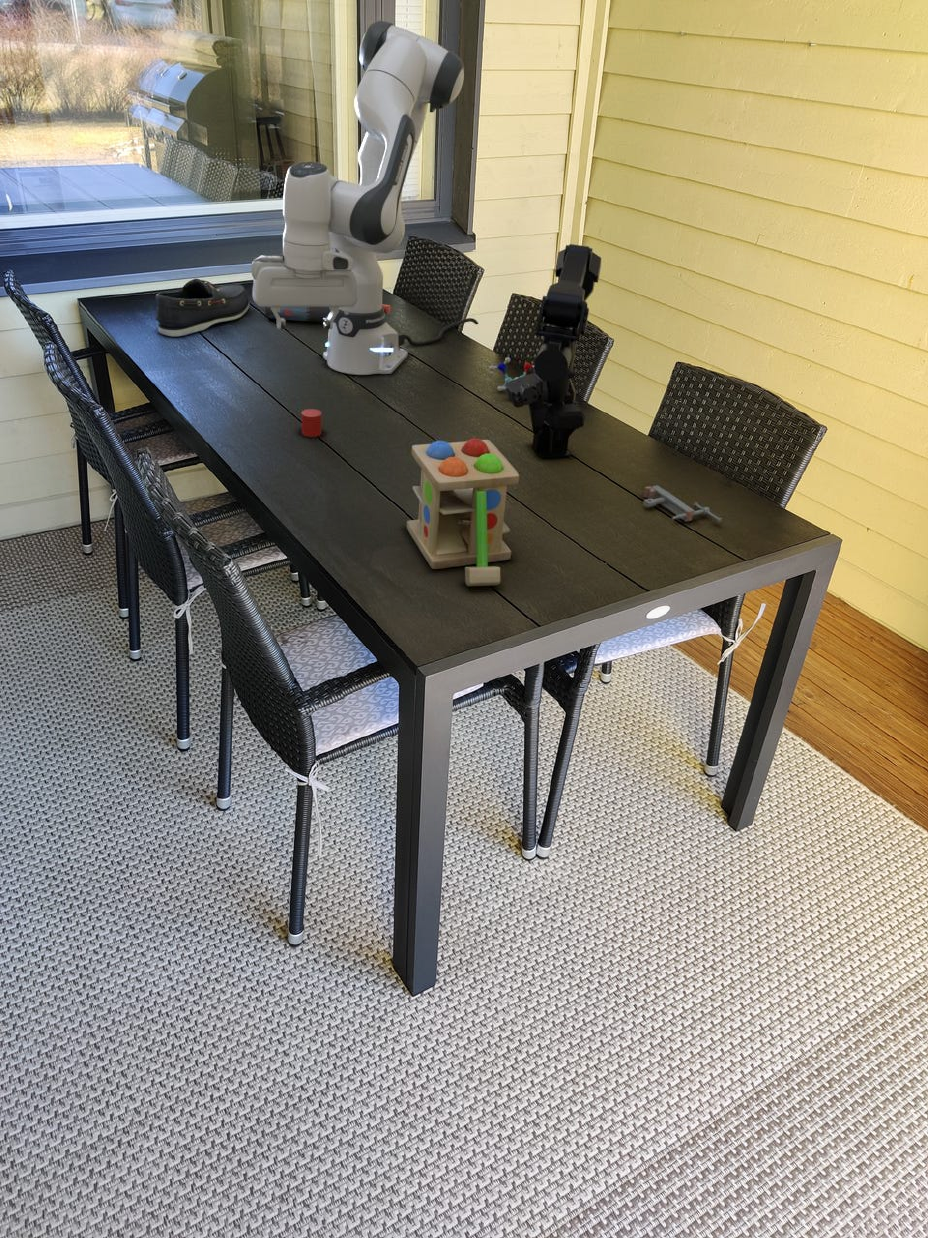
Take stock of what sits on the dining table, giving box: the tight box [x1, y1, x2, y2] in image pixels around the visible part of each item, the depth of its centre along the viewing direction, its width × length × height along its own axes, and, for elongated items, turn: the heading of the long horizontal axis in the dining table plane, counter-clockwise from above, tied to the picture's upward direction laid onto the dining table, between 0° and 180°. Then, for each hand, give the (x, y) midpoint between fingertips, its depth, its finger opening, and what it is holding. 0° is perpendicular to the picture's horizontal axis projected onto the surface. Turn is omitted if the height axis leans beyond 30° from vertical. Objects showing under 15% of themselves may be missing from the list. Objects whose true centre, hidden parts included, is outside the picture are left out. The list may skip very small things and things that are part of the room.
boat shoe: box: [155, 278, 250, 337], centre depth 253 cm, size 13×33×10 cm, turn 147°
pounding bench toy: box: [406, 438, 520, 587], centre depth 162 cm, size 23×14×18 cm, turn 20°
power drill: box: [264, 307, 331, 322], centre depth 265 cm, size 5×19×20 cm
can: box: [301, 408, 322, 438], centre depth 202 cm, size 4×4×4 cm
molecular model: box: [489, 356, 534, 392], centre depth 228 cm, size 12×10×10 cm
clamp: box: [643, 484, 723, 524], centre depth 186 cm, size 15×2×10 cm
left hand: (304, 328), depth 194 cm, fingers open, 8 cm apart
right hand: (544, 443), depth 184 cm, fingers open, 9 cm apart
